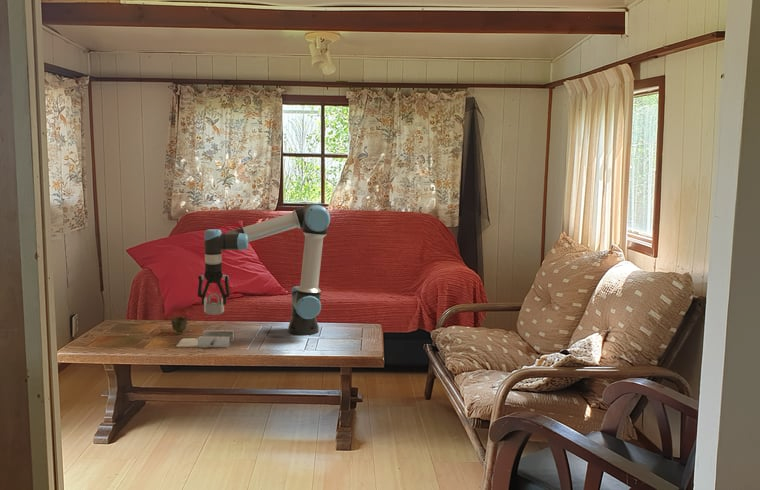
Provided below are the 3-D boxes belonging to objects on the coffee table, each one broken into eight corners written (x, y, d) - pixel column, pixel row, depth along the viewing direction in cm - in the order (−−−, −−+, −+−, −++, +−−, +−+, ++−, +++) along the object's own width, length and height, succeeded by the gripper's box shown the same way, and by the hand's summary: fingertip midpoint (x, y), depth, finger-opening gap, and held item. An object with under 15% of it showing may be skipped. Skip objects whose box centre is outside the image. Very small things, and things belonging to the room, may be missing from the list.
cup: (190, 333, 338) (190, 317, 337) (180, 336, 332) (180, 320, 330) (178, 331, 341) (178, 315, 340) (168, 334, 335) (168, 318, 334)
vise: (234, 339, 329) (233, 330, 328) (227, 349, 312) (227, 339, 311) (204, 339, 328) (204, 329, 327) (196, 349, 311) (196, 339, 311)
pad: (201, 339, 327) (201, 338, 327) (196, 346, 315) (196, 345, 315) (182, 339, 327) (182, 338, 327) (176, 346, 315) (176, 345, 315)
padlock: (205, 314, 317) (205, 293, 316) (207, 312, 321) (207, 291, 320) (221, 315, 317) (220, 293, 316) (222, 313, 321) (222, 292, 320)
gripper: (236, 261, 320) (237, 309, 323) (193, 261, 319) (194, 309, 323) (233, 264, 313) (234, 313, 316) (189, 264, 312) (190, 313, 315)
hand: (214, 311), depth 319 cm, fingers closed on padlock, 7 cm apart
